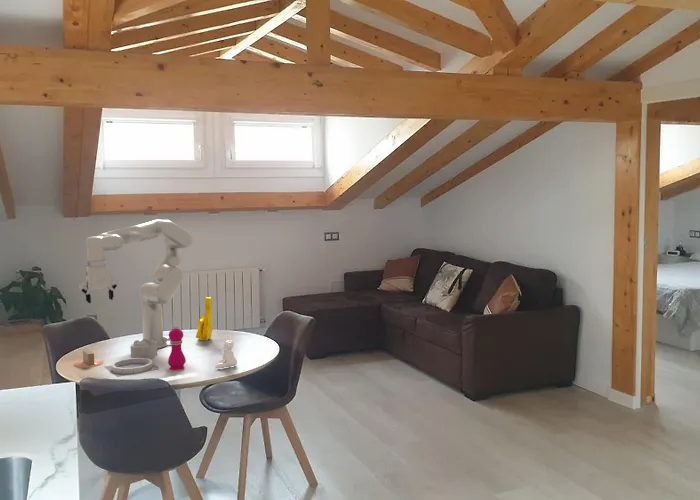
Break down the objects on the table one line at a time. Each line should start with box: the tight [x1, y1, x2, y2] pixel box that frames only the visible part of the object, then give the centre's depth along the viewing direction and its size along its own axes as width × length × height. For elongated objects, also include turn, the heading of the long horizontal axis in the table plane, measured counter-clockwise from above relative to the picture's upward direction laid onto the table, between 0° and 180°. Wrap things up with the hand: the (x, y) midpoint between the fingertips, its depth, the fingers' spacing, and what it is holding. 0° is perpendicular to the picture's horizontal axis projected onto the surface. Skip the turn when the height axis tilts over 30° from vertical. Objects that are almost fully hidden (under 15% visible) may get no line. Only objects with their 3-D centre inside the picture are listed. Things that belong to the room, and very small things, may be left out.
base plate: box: [104, 357, 161, 378], centre depth 266 cm, size 18×18×4 cm
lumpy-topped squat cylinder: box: [130, 338, 158, 360], centre depth 285 cm, size 10×13×9 cm
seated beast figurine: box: [215, 339, 238, 369], centre depth 272 cm, size 10×9×12 cm
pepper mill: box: [167, 324, 187, 371], centre depth 265 cm, size 7×7×20 cm
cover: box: [73, 349, 104, 369], centre depth 272 cm, size 12×12×7 cm
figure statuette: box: [195, 296, 214, 341], centre depth 319 cm, size 18×8×22 cm, turn 176°
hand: (100, 300), depth 283 cm, fingers open, 9 cm apart
